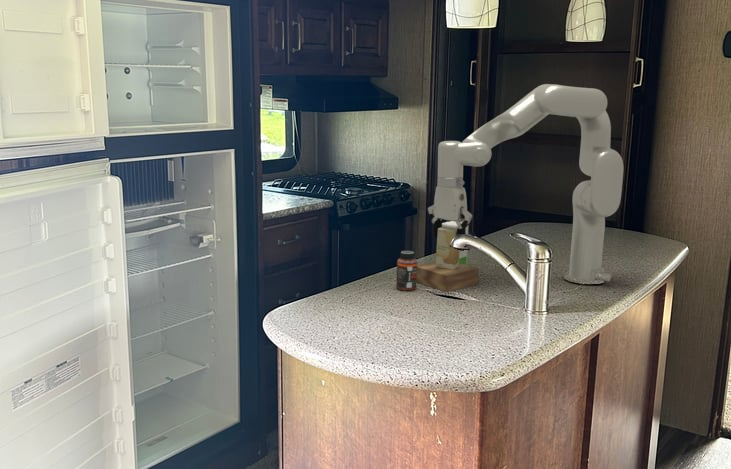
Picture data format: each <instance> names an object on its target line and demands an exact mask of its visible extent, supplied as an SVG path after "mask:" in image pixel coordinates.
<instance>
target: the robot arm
mask: <svg viewBox="0 0 731 469" xmlns="http://www.w3.org/2000/svg"><path fill="white" fill-rule="evenodd" d="M607 107H608V98H607V96H606V94H605V93H604V92H603V91H602V90H601V89H597V88H594V87H593V88H592V87H590V88H589V87H578V86H568V85H561V84H555V83H554V84H552V83H551V84H550V83H544V84H541V85H538V86H537V87H535V88H534V89H533V90H532V91H530V92H529V93H527V94H526V95H525V96H523V97H522V98H521V99H520V100H519V101H517V102H516V103H515V104H514V105H512V106H511V107H509V109H507V110H505V111H504V112H502V113H501V114H499V115H497V116H496V117H494V118H493V119H491V120H490V121H488V122H486V123H485V124H483V125H482V126H480V127H479V128H477V129H476V130H475V131H473V132H472V133H471V134H470V135H468V136H467V137H466V138H465V139H464V140H462V142H461V141H459V140H444V141H441V142H439V143H438V146H437V186H436V187H435V192H434V193H435V194H434V200H433V204H432V205H431V206H429V207H427V212H428V214H429V218H430V219H431V223H432V225H433V228H432V230H433V232H432V233H433V234H432V236H433V237H437V234H438V228H441V227H442V223H443V222H441V221H442V220H445V221H448V222H450V221H454V222H456V224H457V226H458V227H459V228H457V235H458V234H465V231H466V228H467V227H468V228H469V226H470V224H471V221H472V219H473V214H472V213H471V212H470V211H468V203H467V202H468V200H467V192H466V188H465V187H463V186H464V185H465V183H466V182H465V181H464V180H463V179H464V166H470V167H483V166H485V165H487V164H488V163H489V162H490V160H491V158H492V148H494V147H496V146H497V145H498V144H500V143H502V142H505V141H507V140H510V139H514V138H515V139H516V138H518V137H520V136H522V135H524V134H525V133H526V132H528V131H529V130H531V128H533V127H534V126H535V125H537V124H538V123H539V122H540V121H542V120H543V119H545V118H546V117H547V116H548V115H555V116H556V115H557V116H562V117H563V116H564V117H571V118H576V119H577V120H578V122H579V125H580V130H581V132H580V133H581V134H580V136H581V137H580V138H581V139H580V150H579V162H578V164H579V169H580V171H581V172H582V173H583V174H584V175H586V176H588V177H591V178H590V179H589V180H584V181H581V182H580V183H578V185H577V186H576V187H575V188H574V190H573V193H572V213H573V214H572V215H573V216H572V218H573V219H572V233H571V242H570V243H571V244H570V246H571V247H570V255H569V258H570V259H569V271H568V272H569V276H571V277H572V278H576V279H582V280H593V281H594V280H600V279H601V280H604V281H605V282H610V281H611V279H612V274H611V273H606V272H605V267H602V261H603V253H604V252H603V250H604V241H605V240H604V238H605V229H606V228H605V227H606V218H607V217H610V216H612V215H613V214H615V213H616V212H617V211H618V209H619V207H620V204H621V199H622V192H623V181H624V180H623V179H624V163H623V158H622V156H621V155H620V153H619V152H618V151H617V150H614V148H613V149H612V148H611V133H612V126H611V120H610V117H609V114H608V112H607V111H606V110H607ZM461 223H462V224H461Z"/></svg>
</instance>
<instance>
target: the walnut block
mask: <svg viewBox="0 0 731 469" xmlns="http://www.w3.org/2000/svg"><path fill="white" fill-rule="evenodd" d="M435 265H436V260H435V261H430V262H427V263H423V264H417V276H416V284H420V285H423V286H426V287H429V288H432V289H436V290H438V291H441V292H445V293H448V292H453V291H456V290H460V289H465V288H467V287H471V286H476V285H479V267H475V266H472V265H468V264H467V265H465V264H461V263H459V265H458V267H457V268H456V269H454V270H451V269H446V268H440V267H435Z"/></svg>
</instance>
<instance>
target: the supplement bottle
mask: <svg viewBox="0 0 731 469" xmlns="http://www.w3.org/2000/svg"><path fill="white" fill-rule="evenodd" d="M417 265H418V260H417V259H416V258H415V252H414V251H412V250H401V252H400V257H399V258H398V259H397V261H396V282H395V283H396V289H398V290H400V291H404V292H405V291H407V292H409V291H410V292H411V291H415V290H416V288H417V283H416V276H417Z"/></svg>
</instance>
